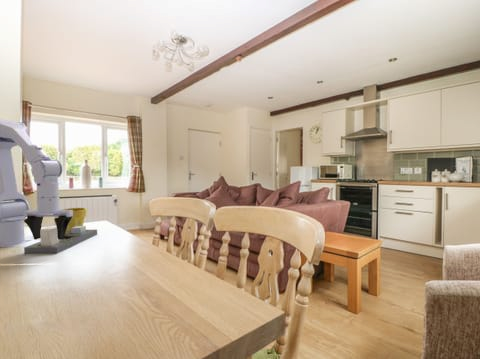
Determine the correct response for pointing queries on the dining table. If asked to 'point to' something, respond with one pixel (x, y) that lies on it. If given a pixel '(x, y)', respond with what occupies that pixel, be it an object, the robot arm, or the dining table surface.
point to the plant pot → (76, 217)
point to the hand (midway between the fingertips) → (49, 238)
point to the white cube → (78, 229)
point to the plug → (49, 236)
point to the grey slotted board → (60, 243)
